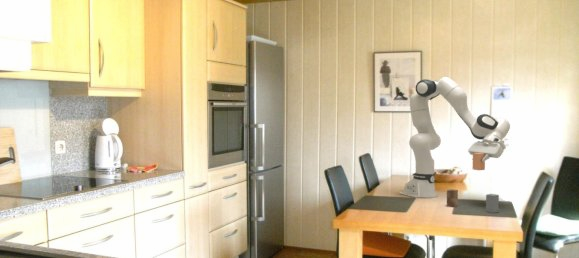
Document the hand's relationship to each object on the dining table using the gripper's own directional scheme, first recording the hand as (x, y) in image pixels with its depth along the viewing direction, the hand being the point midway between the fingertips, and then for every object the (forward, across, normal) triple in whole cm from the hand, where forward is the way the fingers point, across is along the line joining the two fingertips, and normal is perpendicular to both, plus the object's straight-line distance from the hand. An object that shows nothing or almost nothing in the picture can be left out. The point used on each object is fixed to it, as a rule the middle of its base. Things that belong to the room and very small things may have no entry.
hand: (477, 160), depth 281 cm
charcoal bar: (+20, +13, +15) cm, 29 cm away
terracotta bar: (+3, 0, +4) cm, 5 cm away
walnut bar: (+26, -7, +10) cm, 29 cm away
